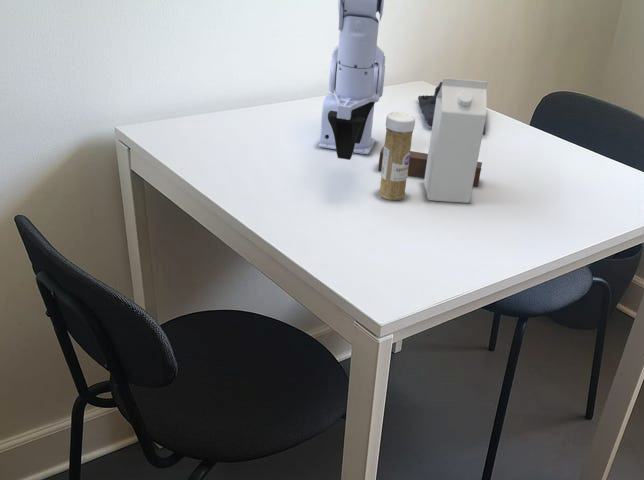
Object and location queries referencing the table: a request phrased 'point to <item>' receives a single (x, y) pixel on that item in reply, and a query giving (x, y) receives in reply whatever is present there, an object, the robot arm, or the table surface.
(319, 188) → the table surface
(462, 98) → the milk carton
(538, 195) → the table surface
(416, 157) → the walnut rail
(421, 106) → the dark slate chunk
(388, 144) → the sprinkles bottle
